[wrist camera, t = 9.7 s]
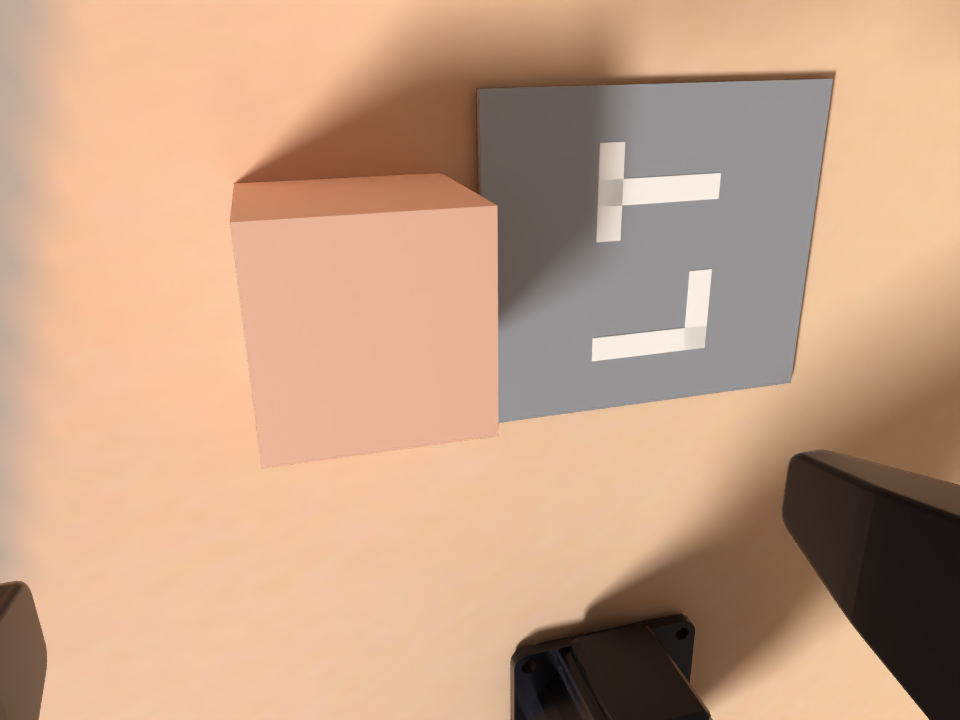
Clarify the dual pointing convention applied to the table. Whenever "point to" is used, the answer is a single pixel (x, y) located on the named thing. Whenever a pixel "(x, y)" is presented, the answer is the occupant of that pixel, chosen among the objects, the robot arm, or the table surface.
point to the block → (367, 313)
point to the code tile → (648, 237)
